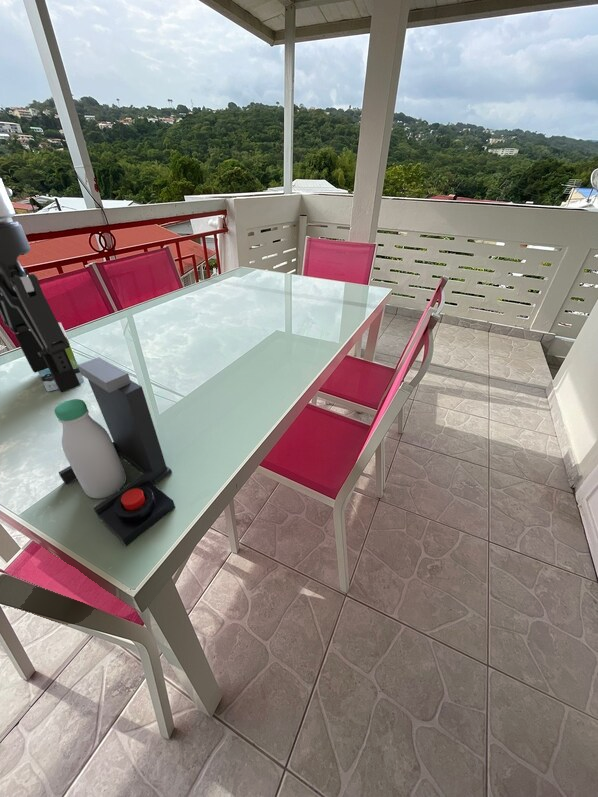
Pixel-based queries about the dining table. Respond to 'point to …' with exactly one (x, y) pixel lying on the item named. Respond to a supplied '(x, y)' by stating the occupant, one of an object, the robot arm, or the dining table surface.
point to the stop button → (133, 499)
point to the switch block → (137, 514)
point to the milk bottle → (89, 450)
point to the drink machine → (124, 426)
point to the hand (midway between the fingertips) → (56, 378)
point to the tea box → (46, 373)
